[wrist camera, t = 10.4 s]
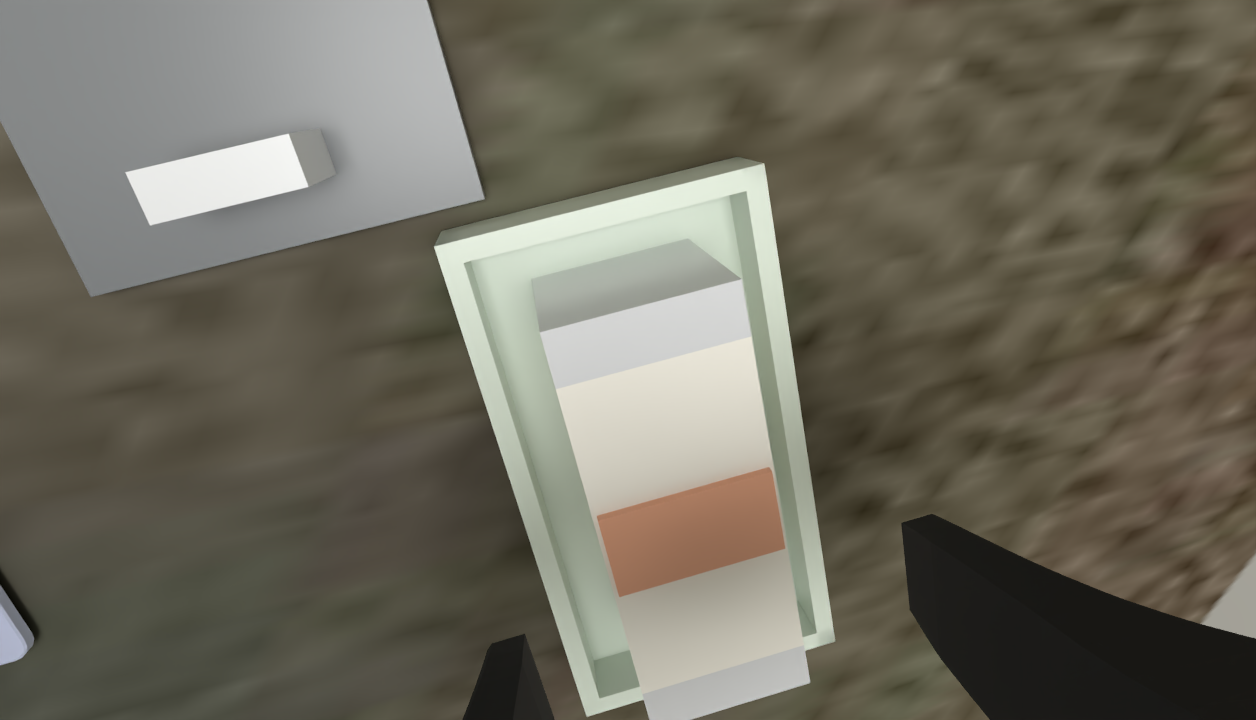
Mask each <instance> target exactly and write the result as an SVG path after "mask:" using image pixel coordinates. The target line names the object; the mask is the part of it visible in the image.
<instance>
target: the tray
mask: <svg viewBox="0 0 1256 720" xmlns="http://www.w3.org/2000/svg"><path fill="white" fill-rule="evenodd" d="M687 238H688V239H690V240H691V241H692V242H694V243H695V244H696V245H698V246H699V247H700V248H702V249H703V250H704V251H705V252H707V253H708V254H709V255H711V256H712V257H713V258H715V259H716V260H717V261H719V262H720V263H721V264H723V265H724V266H725V267H726V268H728V269H729V270H730V271H732V272H733V273H734V274H736V275H737V276H738V277H740V278H741V279H742V284H743V290H744V295H745V301H746V307H747V313H748V319H749V325H750V331H751V337H752V342H753V348H754V354H755V360H756V366H757V372H758V378H759V384H760V390H761V395H762V401H763V407H764V413H765V419H766V425H767V431H768V437H769V442H770V448H771V454H772V460H773V466H774V472H775V478H776V484H777V489H778V495H779V501H780V507H781V513H782V519H783V525H784V531H785V537H786V542H787V548H788V554H789V560H790V566H791V572H792V578H793V584H794V589H795V595H796V601H797V607H798V613H799V619H800V625H801V631H802V636H803V642H804V648H805V650H809V649H812V648H815V647H819V646H822V645H825V644H829V643H832V642H835V637H834V630H833V623H832V616H831V610H830V603H829V596H828V589H827V583H826V576H825V569H824V563H823V556H822V549H821V542H820V536H819V529H818V522H817V515H816V509H815V502H814V495H813V488H812V482H811V475H810V468H809V461H808V455H807V448H806V441H805V435H804V428H803V421H802V414H801V408H800V401H799V394H798V387H797V381H796V374H795V367H794V360H793V354H792V347H791V340H790V334H789V327H788V320H787V313H786V307H785V300H784V293H783V286H782V280H781V273H780V266H779V259H778V253H777V246H776V239H775V233H774V226H773V219H772V212H771V206H770V199H769V192H768V185H767V179H766V172H765V165H764V163H761V162H757V161H753V160H749V159H745V158H741V157H734V158H730V159H726V160H722V161H718V162H714V163H710V164H706V165H702V166H698V167H694V168H690V169H687V170H683V171H679V172H675V173H671V174H667V175H663V176H659V177H655V178H651V179H647V180H643V181H639V182H635V183H631V184H627V185H623V186H619V187H615V188H611V189H607V190H603V191H599V192H595V193H591V194H587V195H583V196H579V197H575V198H571V199H567V200H563V201H559V202H555V203H551V204H547V205H543V206H539V207H535V208H531V209H527V210H523V211H519V212H515V213H511V214H507V215H503V216H499V217H495V218H491V219H487V220H483V221H479V222H475V223H471V224H467V225H463V226H459V227H455V228H451V229H447V230H443V231H441V233H440V235H439V237H438V239H437V241H436V243H435V246H434V248H435V251H436V254H437V257H438V260H439V263H440V267H441V270H442V273H443V276H444V279H445V282H446V285H447V288H448V291H449V294H450V297H451V300H452V303H453V307H454V310H455V313H456V316H457V319H458V322H459V325H460V328H461V331H462V334H463V337H464V340H465V344H466V347H467V350H468V353H469V356H470V359H471V362H472V365H473V368H474V371H475V374H476V377H477V381H478V384H479V387H480V390H481V393H482V396H483V399H484V402H485V405H486V408H487V411H488V414H489V417H490V421H491V424H492V427H493V430H494V433H495V436H496V439H497V442H498V445H499V448H500V451H501V454H502V458H503V461H504V464H505V467H506V470H507V473H508V476H509V479H510V482H511V485H512V488H513V491H514V494H515V498H516V501H517V504H518V507H519V510H520V513H521V516H522V519H523V522H524V525H525V528H526V531H527V535H528V538H529V541H530V544H531V547H532V550H533V553H534V556H535V559H536V562H537V565H538V568H539V571H540V575H541V578H542V581H543V584H544V587H545V590H546V593H547V596H548V599H549V602H550V605H551V608H552V612H553V615H554V618H555V621H556V624H557V627H558V630H559V633H560V636H561V639H562V642H563V645H564V649H565V652H566V655H567V658H568V661H569V664H570V667H571V670H572V673H573V676H574V679H575V682H576V685H577V689H578V692H579V695H580V698H581V701H582V704H583V707H584V710H585V713H586V716H587V717H588V716H591V715H594V714H598V713H601V712H604V711H608V710H611V709H614V708H617V707H621V706H624V705H627V704H631V703H634V702H637V701H641V700H644V699H643V695H642V692H641V688H640V684H639V681H638V677H637V674H636V670H635V667H634V663H633V660H632V656H631V653H630V649H629V646H628V642H627V639H626V635H625V632H624V628H623V625H622V621H621V618H620V614H619V610H618V607H617V603H616V600H615V596H614V593H613V589H612V586H611V582H610V579H609V575H608V572H607V568H606V565H605V561H604V558H603V554H602V551H601V547H600V544H599V540H598V536H597V533H596V529H595V526H594V522H593V519H592V515H591V512H590V508H589V505H588V501H587V498H586V494H585V491H584V487H583V484H582V480H581V477H580V473H579V469H578V466H577V462H576V459H575V455H574V452H573V448H572V445H571V441H570V438H569V434H568V431H567V427H566V424H565V420H564V417H563V413H562V410H561V406H560V403H559V399H558V395H557V392H556V388H555V385H554V381H553V378H552V374H551V371H550V367H549V364H548V360H547V357H546V353H545V350H544V346H543V343H542V339H541V336H540V332H539V325H538V319H537V312H536V306H535V299H534V293H533V286H532V280H531V279H532V278H536V277H540V276H544V275H548V274H552V273H556V272H559V271H563V270H567V269H571V268H575V267H579V266H583V265H587V264H590V263H594V262H598V261H602V260H606V259H610V258H614V257H617V256H621V255H625V254H629V253H633V252H637V251H641V250H645V249H648V248H652V247H656V246H660V245H664V244H668V243H672V242H676V241H679V240H683V239H687Z"/></svg>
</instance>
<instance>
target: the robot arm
mask: <svg viewBox="0 0 1256 720" xmlns="http://www.w3.org/2000/svg"><path fill="white" fill-rule="evenodd" d="M901 524H902V534H903V544H904V554H905V565H906V575H907V585H908V595H909V605H910V610H911V612H912V614H913V615H914V617H915V619H916V620H917V622H918V624H919V625H920V627H921V629H922V630H923V632H924V633H925V635H926V637H927V638H928V640H929V641H930V643H931V644H932V646H933V648H934V649H935V651H936V652H937V654H938V655H939V657H940V658H941V660H942V661H943V662H944V663H945V665H946V666H947V667H948V668H949V670H950V671H951V672H952V673H953V675H954V676H955V677H956V678H957V680H958V681H959V682H960V683H961V685H962V686H963V687H964V688H965V690H966V691H967V692H968V693H969V695H970V696H971V697H972V698H973V700H974V701H975V702H976V703H977V704H978V706H979V707H980V708H981V709H982V711H983V712H984V713H985V714H986V715H987V717H988V718H989V719H990V720H1256V639H1255V638H1251V637H1247V636H1243V635H1239V634H1235V633H1232V632H1228V631H1224V630H1221V629H1216V628H1213V627H1209V626H1206V625H1202V624H1198V623H1195V622H1192V621H1188V620H1185V619H1182V618H1178V617H1175V616H1172V615H1169V614H1166V613H1163V612H1160V611H1157V610H1154V609H1151V608H1148V607H1145V606H1142V605H1139V604H1136V603H1133V602H1130V601H1127V600H1124V599H1121V598H1119V597H1116V596H1113V595H1111V594H1108V593H1105V592H1103V591H1100V590H1098V589H1095V588H1093V587H1090V586H1088V585H1085V584H1083V583H1080V582H1078V581H1076V580H1073V579H1071V578H1068V577H1066V576H1063V575H1061V574H1059V573H1057V572H1054V571H1052V570H1050V569H1047V568H1045V567H1043V566H1041V565H1038V564H1036V563H1034V562H1032V561H1030V560H1027V559H1025V558H1023V557H1021V556H1019V555H1017V554H1015V553H1012V552H1010V551H1008V550H1006V549H1004V548H1002V547H1000V546H998V545H996V544H994V543H992V542H990V541H988V540H985V539H983V538H981V537H979V536H977V535H975V534H973V533H971V532H969V531H967V530H965V529H963V528H961V527H959V526H957V525H955V524H953V523H951V522H949V521H946V520H944V519H942V518H940V517H938V516H936V515H933V514H930V515H927V516H923V517H920V518H917V519H913V520H910V521H906V522H903V523H901ZM33 643H34V637H33V634H32V632H31V631H30V629H29V628H28V626H27V625H26V623H25V622H24V620H23V619H22V617H21V616H20V614H19V613H18V611H17V610H16V608H15V607H14V605H13V603H12V602H11V600H10V599H9V597H8V596H7V594H6V593H5V591H4V590H3V588H2V587H1V585H0V665H3V664H7V663H10V662H14V661H17V660H19V659H21V658H22V657H23V656H24V655H25V654H26V653H27V652H28V650H29V649H30V648H31V647H32V646H33ZM463 720H554V716H553V714H552V711H551V708H550V705H549V702H548V699H547V696H546V693H545V691H544V688H543V685H542V682H541V679H540V676H539V673H538V670H537V667H536V665H535V662H534V659H533V656H532V653H531V650H530V647H529V644H528V642H527V639H526V636H525V634H523V635H519V636H516V637H513V638H509V639H506V640H502V641H499V642H496V643H492V644H491V646H490V647H489V649H488V650H487V653H486V656H485V660H484V663H483V666H482V669H481V672H480V675H479V677H478V680H477V683H476V686H475V689H474V691H473V694H472V697H471V699H470V702H469V705H468V707H467V710H466V712H465V715H464V717H463Z"/></svg>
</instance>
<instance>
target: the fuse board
mask: <svg viewBox="0 0 1256 720" xmlns="http://www.w3.org/2000/svg"><path fill="white" fill-rule="evenodd" d="M0 121H1V123H2V125H3V127H4V129H5V131H6V133H7V135H8V137H9V139H10V141H11V142H12V144H13V146H14V148H15V150H16V152H17V154H18V156H19V158H20V160H21V162H22V164H23V166H24V168H25V170H26V172H27V174H28V176H29V177H30V179H31V181H32V183H33V185H34V187H35V189H36V191H37V193H38V195H39V197H40V199H41V201H42V203H43V205H44V207H45V209H46V211H47V212H48V214H49V216H50V218H51V220H52V222H53V224H54V226H55V228H56V230H57V232H58V234H59V236H60V238H61V240H62V242H63V244H64V246H65V247H66V249H67V251H68V253H69V255H70V257H71V259H72V261H73V263H74V265H75V267H76V269H77V271H78V273H79V275H80V277H81V279H82V281H83V282H84V284H85V286H86V288H87V290H88V292H89V294H90V296H91V297H93V296H97V295H101V294H105V293H109V292H113V291H117V290H121V289H125V288H129V287H133V286H137V285H141V284H145V283H149V282H153V281H157V280H161V279H165V278H169V277H173V276H177V275H181V274H185V273H189V272H193V271H197V270H201V269H205V268H209V267H213V266H217V265H222V264H226V263H230V262H234V261H238V260H242V259H246V258H250V257H254V256H258V255H262V254H266V253H270V252H274V251H278V250H282V249H286V248H290V247H294V246H298V245H302V244H306V243H310V242H314V241H318V240H322V239H326V238H330V237H334V236H338V235H342V234H346V233H350V232H354V231H358V230H362V229H366V228H370V227H374V226H378V225H382V224H387V223H391V222H395V221H399V220H403V219H407V218H411V217H415V216H419V215H423V214H427V213H431V212H435V211H439V210H443V209H447V208H451V207H455V206H459V205H463V204H467V203H471V202H475V201H479V200H483V199H485V193H484V189H483V186H482V182H481V179H480V175H479V172H478V168H477V165H476V162H475V158H474V155H473V151H472V148H471V144H470V141H469V138H468V134H467V131H466V127H465V124H464V120H463V117H462V113H461V110H460V107H459V103H458V100H457V96H456V93H455V89H454V86H453V82H452V79H451V76H450V72H449V69H448V65H447V62H446V58H445V55H444V51H443V48H442V45H441V41H440V38H439V34H438V31H437V27H436V24H435V21H434V17H433V14H432V10H431V7H430V3H429V0H0Z"/></svg>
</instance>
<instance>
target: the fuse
mask: <svg viewBox="0 0 1256 720" xmlns="http://www.w3.org/2000/svg"><path fill="white" fill-rule="evenodd" d="M531 280H532V286H533V293H534V299H535V306H536V312H537V319H538V325H539V332H540V336H541V339H542V343H543V346H544V350H545V353H546V357H547V360H548V364H549V367H550V371H551V374H552V378H553V381H554V385H555V388H556V392H557V395H558V399H559V403H560V406H561V410H562V413H563V417H564V420H565V424H566V427H567V431H568V434H569V438H570V441H571V445H572V448H573V452H574V455H575V459H576V462H577V466H578V469H579V473H580V477H581V480H582V484H583V487H584V491H585V494H586V498H587V501H588V505H589V508H590V512H591V515H592V519H593V522H594V526H595V529H596V533H597V536H598V540H599V544H600V547H601V551H602V554H603V558H604V561H605V565H606V568H607V572H608V575H609V579H610V582H611V586H612V589H613V593H614V596H615V600H616V603H617V607H618V610H619V614H620V618H621V621H622V625H623V628H624V632H625V635H626V639H627V642H628V646H629V649H630V653H631V656H632V660H633V663H634V667H635V670H636V674H637V677H638V681H639V684H640V688H641V692H642V695H643V699H644V702H645V706H646V709H647V713H648V716H649V720H691V719H694V718H698V717H701V716H704V715H707V714H711V713H714V712H717V711H720V710H724V709H727V708H730V707H733V706H737V705H740V704H743V703H746V702H750V701H753V700H756V699H759V698H763V697H766V696H769V695H772V694H776V693H779V692H782V691H785V690H789V689H792V688H795V687H798V686H802V685H805V684H808V683H810V678H809V672H808V666H807V660H806V654H805V648H804V642H803V636H802V631H801V625H800V619H799V613H798V607H797V601H796V595H795V589H794V584H793V578H792V572H791V566H790V560H789V554H788V548H787V542H786V537H785V531H784V525H783V519H782V513H781V507H780V501H779V495H778V489H777V484H776V478H775V472H774V466H773V460H772V454H771V448H770V442H769V437H768V431H767V425H766V419H765V413H764V407H763V401H762V395H761V390H760V384H759V378H758V372H757V366H756V360H755V354H754V348H753V342H752V337H751V331H750V325H749V319H748V313H747V307H746V301H745V295H744V290H743V284H742V279H741V278H740V277H738V276H737V275H736V274H734V273H733V272H732V271H730V270H729V269H728V268H726V267H725V266H724V265H723V264H721V263H720V262H719V261H717V260H716V259H715V258H713V257H712V256H711V255H709V254H708V253H707V252H705V251H704V250H703V249H702V248H700V247H699V246H698V245H696V244H695V243H694V242H692V241H691V240H690V239H688V238H687V239H683V240H679V241H676V242H672V243H668V244H664V245H660V246H656V247H652V248H648V249H645V250H641V251H637V252H633V253H629V254H625V255H621V256H617V257H614V258H610V259H606V260H602V261H598V262H594V263H590V264H587V265H583V266H579V267H575V268H571V269H567V270H563V271H559V272H556V273H552V274H548V275H544V276H540V277H536V278H532V279H531Z"/></svg>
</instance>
